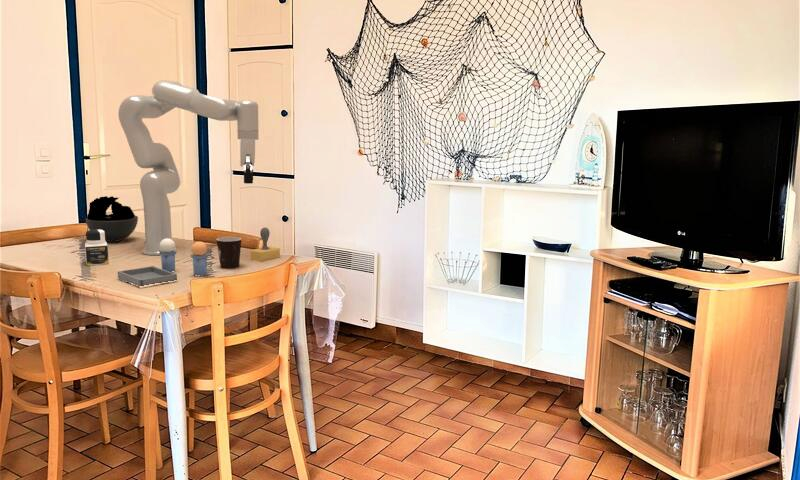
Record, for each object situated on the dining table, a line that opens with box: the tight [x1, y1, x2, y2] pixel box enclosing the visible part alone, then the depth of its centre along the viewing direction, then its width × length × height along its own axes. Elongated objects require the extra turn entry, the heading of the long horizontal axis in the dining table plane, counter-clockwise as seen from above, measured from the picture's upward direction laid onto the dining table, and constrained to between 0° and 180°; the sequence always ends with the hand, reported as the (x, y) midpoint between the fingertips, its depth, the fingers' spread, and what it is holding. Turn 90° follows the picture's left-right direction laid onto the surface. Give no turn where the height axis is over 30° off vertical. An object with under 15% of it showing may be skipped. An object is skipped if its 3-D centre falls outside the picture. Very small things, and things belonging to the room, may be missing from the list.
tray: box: [117, 265, 178, 286], centre depth 208 cm, size 16×12×2 cm
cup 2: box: [190, 253, 209, 276], centre depth 215 cm, size 4×4×7 cm
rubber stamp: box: [250, 227, 281, 263], centre depth 242 cm, size 10×6×12 cm, turn 145°
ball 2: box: [191, 241, 208, 256], centre depth 214 cm, size 5×5×5 cm
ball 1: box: [160, 238, 176, 253], centre depth 219 cm, size 5×5×5 cm
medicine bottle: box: [84, 229, 110, 266], centre depth 230 cm, size 7×7×12 cm
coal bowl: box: [85, 195, 139, 242], centre depth 270 cm, size 20×20×19 cm
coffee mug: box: [215, 236, 242, 270], centre depth 227 cm, size 12×9×10 cm
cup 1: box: [159, 250, 177, 273], centre depth 220 cm, size 4×4×7 cm
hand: (248, 182), depth 239 cm, fingers open, 9 cm apart
